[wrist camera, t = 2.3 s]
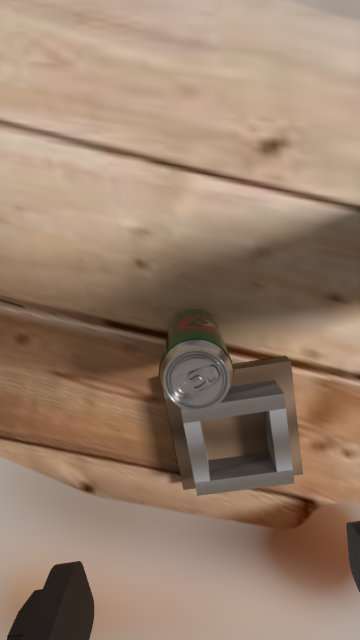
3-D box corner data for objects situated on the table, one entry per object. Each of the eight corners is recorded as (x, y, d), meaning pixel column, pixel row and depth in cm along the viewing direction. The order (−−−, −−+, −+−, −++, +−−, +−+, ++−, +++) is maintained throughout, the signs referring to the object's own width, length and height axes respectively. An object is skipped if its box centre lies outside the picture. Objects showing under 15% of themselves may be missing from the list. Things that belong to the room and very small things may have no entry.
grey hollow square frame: (162, 375, 32) (158, 394, 28) (285, 355, 31) (301, 372, 27) (183, 479, 35) (182, 512, 30) (297, 464, 34) (314, 496, 29)
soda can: (159, 323, 31) (142, 366, 19) (203, 299, 30) (212, 328, 18) (184, 364, 32) (181, 429, 20) (226, 342, 31) (250, 395, 19)
